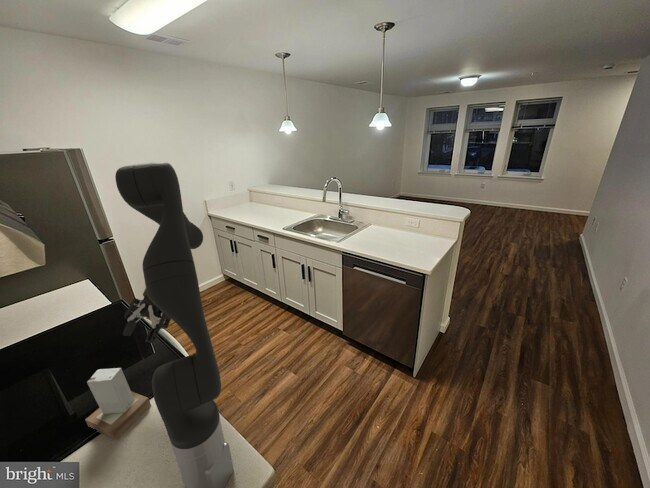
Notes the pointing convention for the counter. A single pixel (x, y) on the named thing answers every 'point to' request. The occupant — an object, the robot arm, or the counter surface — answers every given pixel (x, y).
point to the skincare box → (111, 390)
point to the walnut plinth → (118, 418)
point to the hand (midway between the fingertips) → (137, 339)
